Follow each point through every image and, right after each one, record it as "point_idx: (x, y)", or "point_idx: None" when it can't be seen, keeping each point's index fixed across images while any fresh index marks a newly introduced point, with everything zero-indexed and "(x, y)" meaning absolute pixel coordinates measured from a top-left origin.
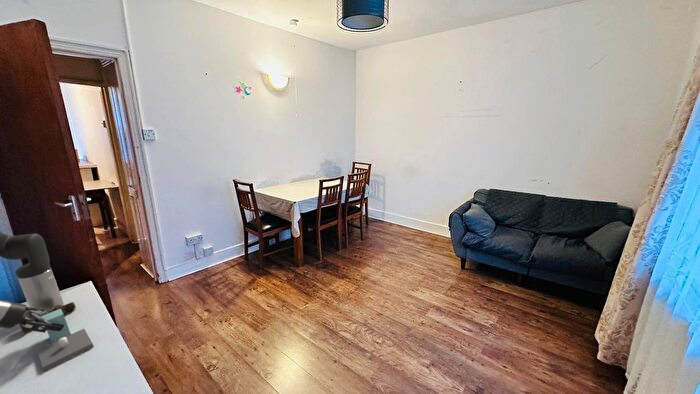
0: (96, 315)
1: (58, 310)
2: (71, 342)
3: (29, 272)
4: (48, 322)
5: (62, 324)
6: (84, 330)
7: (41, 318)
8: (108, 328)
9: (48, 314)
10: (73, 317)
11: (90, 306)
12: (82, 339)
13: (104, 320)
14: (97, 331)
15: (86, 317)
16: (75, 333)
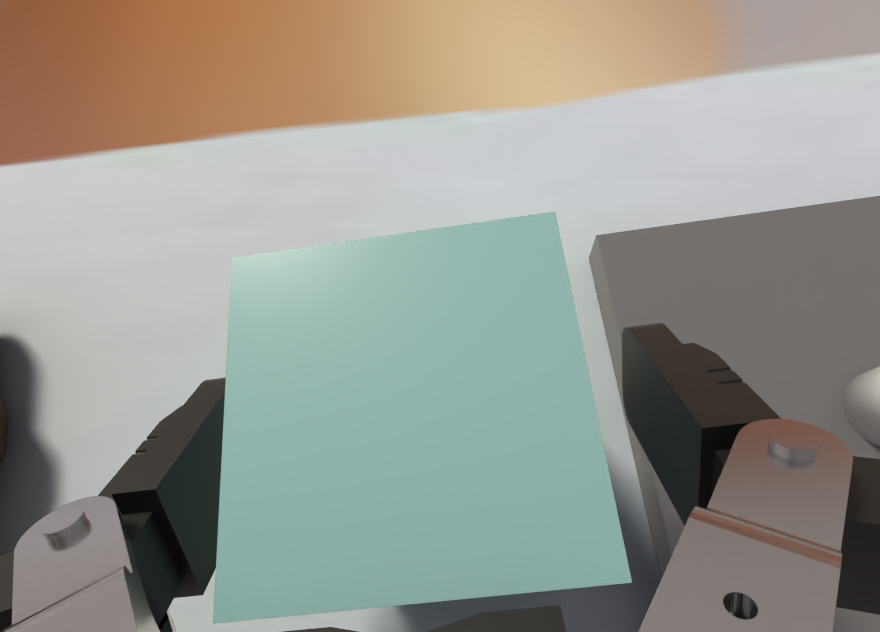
0: (330, 172)
1: (277, 293)
2: (838, 348)
3: None
4: (812, 468)
5: (646, 331)
6: (646, 234)
7: (816, 609)
8: (696, 99)
9: (279, 470)
10: (153, 342)
11: (83, 209)
12: (853, 253)
13: (501, 121)
14: (676, 172)
15: (281, 243)
16: (643, 308)
